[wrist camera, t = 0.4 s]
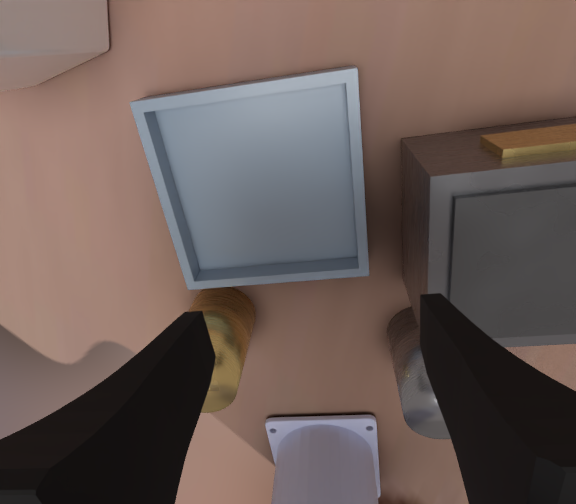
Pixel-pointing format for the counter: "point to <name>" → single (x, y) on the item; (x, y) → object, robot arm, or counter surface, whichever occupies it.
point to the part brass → (225, 340)
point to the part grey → (414, 378)
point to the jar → (48, 38)
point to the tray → (261, 178)
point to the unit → (495, 227)
